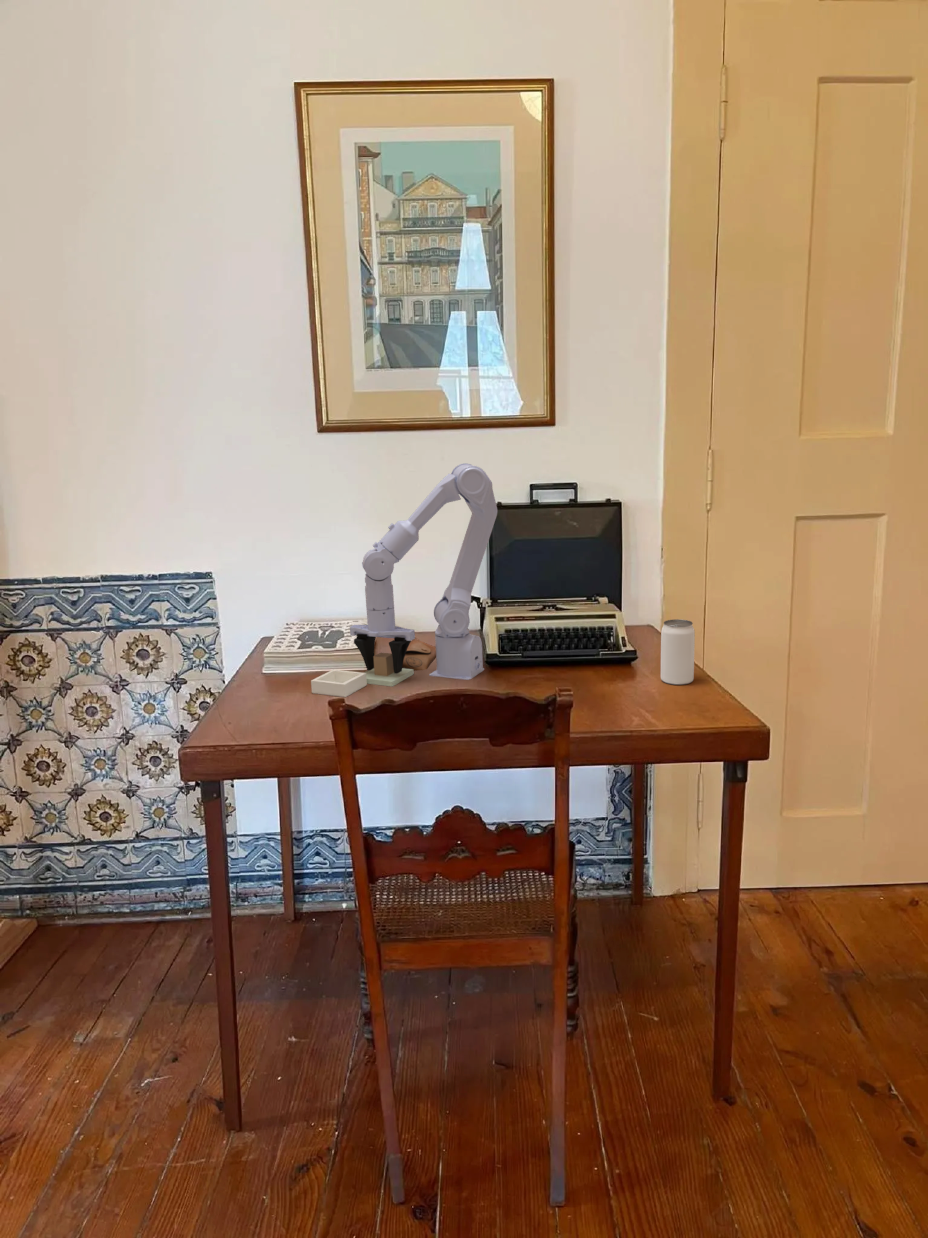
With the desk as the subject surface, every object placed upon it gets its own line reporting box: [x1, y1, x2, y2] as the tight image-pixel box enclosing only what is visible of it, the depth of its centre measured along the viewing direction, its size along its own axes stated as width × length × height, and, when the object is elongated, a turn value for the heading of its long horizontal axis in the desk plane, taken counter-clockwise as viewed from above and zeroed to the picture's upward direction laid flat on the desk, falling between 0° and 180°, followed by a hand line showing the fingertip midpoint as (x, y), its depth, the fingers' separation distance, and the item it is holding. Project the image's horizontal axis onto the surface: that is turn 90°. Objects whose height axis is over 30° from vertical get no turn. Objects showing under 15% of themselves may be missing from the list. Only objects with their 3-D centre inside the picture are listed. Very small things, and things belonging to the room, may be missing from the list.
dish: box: [310, 669, 368, 698], centre depth 177 cm, size 8×8×3 cm
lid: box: [363, 652, 415, 687], centre depth 183 cm, size 9×9×5 cm
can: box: [660, 618, 696, 686], centre depth 174 cm, size 6×6×12 cm
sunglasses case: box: [402, 636, 436, 672], centre depth 196 cm, size 18×7×7 cm
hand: (384, 670), depth 183 cm, fingers open, 6 cm apart
